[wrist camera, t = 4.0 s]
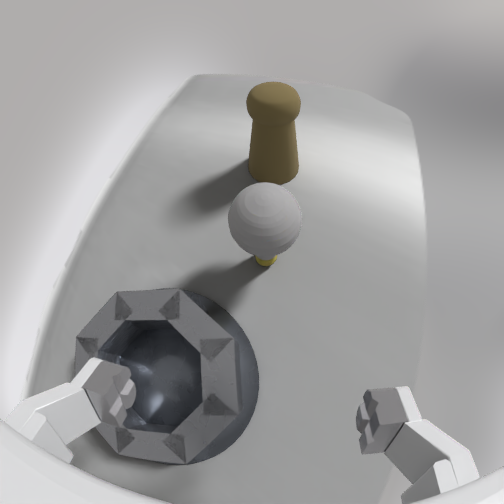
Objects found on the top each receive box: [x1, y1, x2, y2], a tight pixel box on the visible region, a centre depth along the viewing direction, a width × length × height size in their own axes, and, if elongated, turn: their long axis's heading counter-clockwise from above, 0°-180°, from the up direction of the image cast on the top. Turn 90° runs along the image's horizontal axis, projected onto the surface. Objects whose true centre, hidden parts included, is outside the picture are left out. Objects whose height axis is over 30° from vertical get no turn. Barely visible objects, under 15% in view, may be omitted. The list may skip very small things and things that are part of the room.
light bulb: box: [228, 182, 302, 266], centre depth 23 cm, size 5×5×10 cm
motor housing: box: [75, 289, 259, 465], centre depth 21 cm, size 17×17×5 cm
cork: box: [246, 82, 301, 185], centre depth 28 cm, size 6×6×11 cm
